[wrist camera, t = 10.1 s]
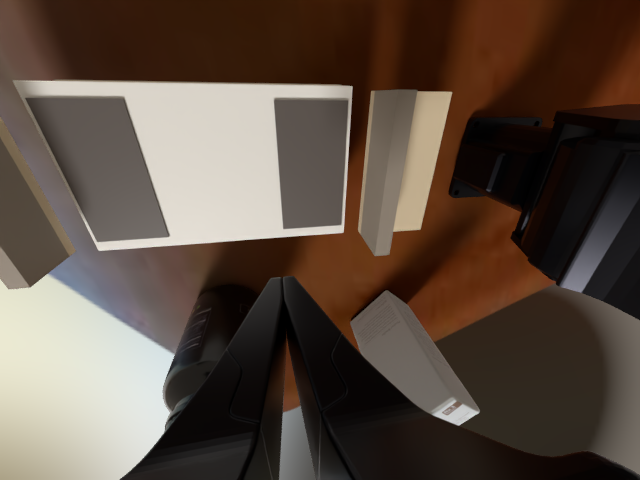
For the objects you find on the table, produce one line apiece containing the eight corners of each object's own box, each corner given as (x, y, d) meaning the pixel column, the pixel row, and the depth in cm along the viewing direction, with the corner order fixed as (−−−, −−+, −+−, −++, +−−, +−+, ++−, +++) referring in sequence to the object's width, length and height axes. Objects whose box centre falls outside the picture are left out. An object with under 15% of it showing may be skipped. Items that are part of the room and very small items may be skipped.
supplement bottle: (279, 300, 26) (284, 435, 16) (241, 339, 28) (223, 483, 17) (218, 269, 23) (175, 411, 12) (180, 316, 25) (115, 473, 14)
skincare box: (371, 333, 31) (422, 453, 21) (346, 320, 29) (389, 444, 19) (409, 302, 29) (485, 414, 19) (385, 285, 27) (456, 400, 17)
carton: (328, 86, 17) (354, 82, 12) (326, 199, 21) (344, 233, 16) (98, 82, 15) (6, 75, 10) (144, 209, 19) (96, 251, 14)
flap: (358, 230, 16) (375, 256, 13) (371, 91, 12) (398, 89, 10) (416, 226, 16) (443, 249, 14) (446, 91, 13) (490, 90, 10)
